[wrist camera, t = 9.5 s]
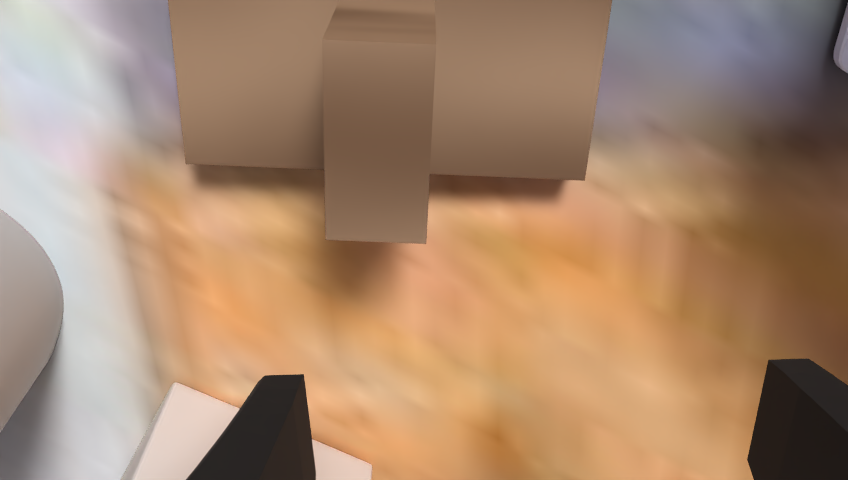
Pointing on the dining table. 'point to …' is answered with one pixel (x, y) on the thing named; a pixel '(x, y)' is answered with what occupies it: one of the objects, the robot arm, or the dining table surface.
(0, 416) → the lumpy-topped squat cylinder
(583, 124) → the walnut strip
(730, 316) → the dining table surface
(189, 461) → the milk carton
